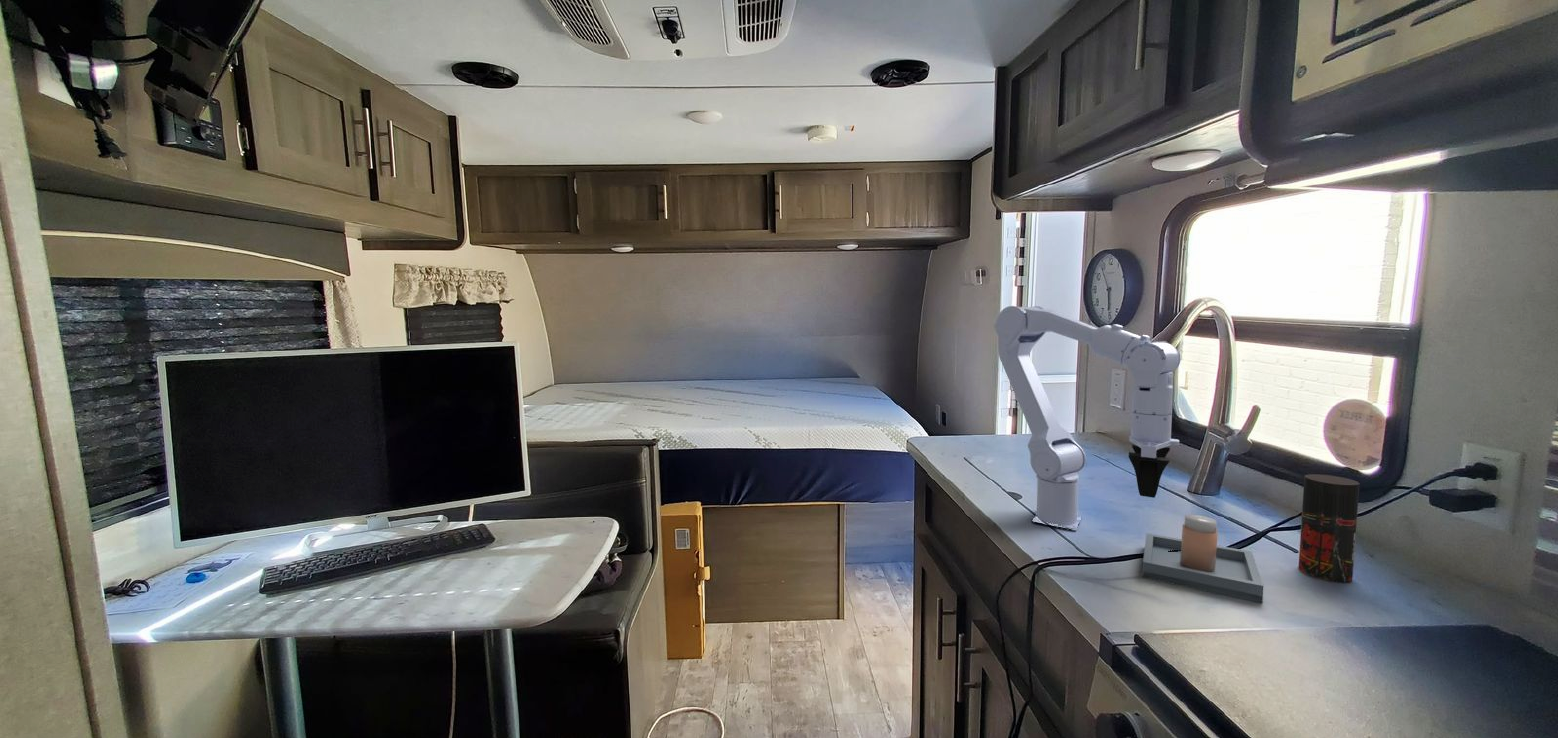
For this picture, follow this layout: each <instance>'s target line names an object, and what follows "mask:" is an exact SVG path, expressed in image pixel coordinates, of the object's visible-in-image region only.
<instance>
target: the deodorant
mask: <svg viewBox="0 0 1558 738" xmlns="http://www.w3.org/2000/svg"><path fill="white" fill-rule="evenodd" d="M1360 484H1361V483H1360V482H1358V481H1356V480H1353V479H1351V478H1346V477H1343V476H1341V477H1340V476H1335V475H1331V474H1330V475H1329V474H1316V473H1315V474H1314V473H1313V474H1312V473H1311V474H1310V473H1309V474H1305V475H1304V477H1303V491H1302V492H1303V494H1302V506H1301V507H1302V508H1301V524H1300V537H1299V538H1300V540H1299V551H1298V552H1299V553H1298V567H1297V568H1298V570H1299V572H1301V573H1303V574H1304V575H1307V576H1308V577H1312V578H1315V579H1318V580H1322V581H1325V582H1326V581H1327V582H1330V583H1337V584H1347V583H1352V582H1353V580H1354V579H1353V575H1354V564H1355V563H1354V562H1355V553H1356V552H1355V549H1356V535H1357V523H1358V509H1359V499H1360V498H1359V496H1360Z"/></svg>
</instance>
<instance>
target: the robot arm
mask: <svg viewBox="0 0 1558 738" xmlns="http://www.w3.org/2000/svg"><path fill="white" fill-rule="evenodd" d="M993 328H994V330H995V332H996V334H997V337H998V341H997V342H998V344H997V345H998V358H999V360H1000V362H1001V365H1002V367H1003V369H1004V372H1005V374H1006V376H1007V378H1008V381H1009V383H1010V386H1011V388H1012V391H1013V393H1014V395H1015V398H1016V400H1017V403H1018V404H1019V406H1020V409H1021V411H1022V414H1023V416H1024V419H1025V421H1026V423H1027V426H1028V429H1029V431H1030V432H1031V437H1030V439H1029V441H1028V443H1027V449H1028V450H1029V454H1030V459H1029V460H1030V465H1031V469H1032V470H1033V472H1034V473H1035V474H1036V478H1037V479H1036V480H1037V483H1036V485H1037V486H1036V489H1037V490H1036V512H1037V517H1038V518H1039V519H1040V520H1043V521H1045V522H1048V523H1051V524H1052V523H1053V524H1058V526H1061V525H1062V527H1065V528H1071V529H1077V530H1078V528H1079V526H1078V524H1079V523H1078V522H1077V520H1081V521H1082V519H1081V517H1077V514H1078V505H1079V503H1078V499H1079V477H1080V471H1082V469H1084V467H1085V466H1086V464H1087V463H1086V462H1087V456H1086V453H1085V450H1084V449H1083V448H1082V447H1081V446H1080V445H1079V444H1078V443H1077V442H1076V441H1075V439H1074V437H1073V435H1072V434H1071V432H1069V431H1068V430H1067V429H1065V428H1064V427H1062V426H1061V424H1060V422H1059V420H1058V418H1057V415H1056V413H1055V410H1054V409H1053V406H1052V404H1051V402H1050V400H1049V398H1048V395H1047V392H1046V391H1045V389H1044V386H1043V384H1042V382H1041V380H1040V377H1039V375H1038V373H1037V370H1036V368H1035V365H1034V363H1033V362H1032V359H1031V357H1030V354H1031V351H1032V350H1033V348H1034V347H1035V345H1036V344H1037V343H1038V342H1039V341H1040V340H1041V339H1042V338H1043V337H1044V336H1045V334H1046V333H1049V332H1051V333H1055V334H1058V335H1061V336H1063V337H1066V338H1069V339H1071V340H1072V339H1073V340H1076V341H1078V342H1081V343H1084V344H1086V345H1088V347H1089V350H1090V351H1091V353H1092V354H1093V355H1095V356H1098V357H1101V358H1102V359H1105V360H1108V361H1110V362H1113V363H1115V364H1118V365H1121V366H1123V367H1126V368H1128V370H1129V372H1130V373H1131V374H1132V390H1131V391H1132V393H1131V394H1132V395H1131V397H1132V398H1131V417H1130V435H1129V436H1128V441H1129V442H1130V443H1132V444H1131V448H1132V450H1133V452H1131V451H1129V452H1128V458H1129V461H1130V463H1131V465H1132V467H1133V469H1134V472H1135V478H1136V483H1137V489H1138V493H1139V496H1141V497H1146V498H1153V499H1154V498H1155V497H1156V495H1157V492H1158V491H1159V490H1158V488H1159V485H1160V481H1161V477H1162V475H1163V473H1164V470H1165V469H1166V467H1167V466H1168V464H1169V463H1170V462H1171V461H1170V458H1169V457H1167V455H1168V453H1169V452H1170V450H1171V446H1179V445H1180V440H1179V439H1176V438H1172V421H1173V419H1172V418H1173V401H1174V400H1173V399H1174V398H1173V397H1174V372H1175V371H1176V370H1177V369H1178V367H1180V365H1181V360H1182V359H1181V354H1180V352H1179V350H1178V349H1177V347H1175V346H1174V345H1173V344H1170V343H1169V342H1167V341H1166V340H1158V341H1157V340H1156V341H1153V342H1151V340H1150V339H1151V337H1150V336H1149V335H1146V334H1142V335H1138V334H1136V333H1135V334H1134V333H1133V332H1129V331H1126V330H1124V329H1123V328H1124V326H1123V325H1120V324H1118V323H1116V324H1115V323H1114V324H1112V325H1109V324H1104V325H1103V326H1100V327H1095V326H1093V325H1090V324H1088V323H1085V322H1083V321H1082V320H1081V321H1080V320H1078V319H1076V318H1073V317H1070V316H1069V315H1066V314H1064V313H1061V312H1059V311H1057V310H1053V309H1050V308H1044V307H1042V306H1037V305H1035V306H1015V305H1008V306H1006V307H1004V308H1003V309H1002V310H1001V311H1000V312H999V314H998V316H997V318H996V321H995V323H994V325H993ZM1079 525H1080V524H1079ZM1077 527H1078V528H1077Z"/></svg>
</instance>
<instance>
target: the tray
mask: <svg viewBox="0 0 1558 738" xmlns="http://www.w3.org/2000/svg"><path fill="white" fill-rule="evenodd" d="M1181 541H1182V538H1177V537H1170V536H1165V535H1158V534H1155V533H1147V532H1146V536H1145V543H1144V551H1143V557H1142V578H1144V579H1149V580H1153V581H1158V582H1162V583H1167V584H1171V585H1177V586H1181V587H1185V588H1190V589H1195V590H1199V591H1205V592H1208V593H1214V594H1219V595H1223V596H1227V597H1230V598H1231V597H1232V598H1237V599H1241V600H1246V601H1251V602H1255V603H1260V604H1263V600H1264V584H1263V581H1262V578H1261V575H1260V572H1259V568H1258V566H1257V563H1256V561H1255V558H1254V554H1253V551H1250V550H1244V549H1240V548H1239V549H1238V548H1234V547H1233V548H1232V547H1229V546H1228V547H1227V546H1221V545H1217V552H1216V565H1215V571H1212V572H1205V571H1199V570H1194V569H1191V568H1188V567H1186V566H1184V565H1182V564H1181V563H1180V556H1181V551H1178V552H1168V551H1170V550H1171V551H1172V550H1181Z"/></svg>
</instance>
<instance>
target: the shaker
mask: <svg viewBox="0 0 1558 738" xmlns="http://www.w3.org/2000/svg"><path fill="white" fill-rule="evenodd" d="M1183 521H1184V523H1183V524H1182V529H1181V530H1182V531H1181V539H1182V541H1181V556H1180V563H1181V564H1182V565H1184V566H1186V567H1188V568H1191V569H1194V570H1199V571H1205V572H1212V571H1215V565H1216V552H1217V546H1218V537H1219V536H1218V535H1219V530H1217V529H1218V528H1217V527H1218V521H1217V520H1216V519H1214V518H1211V517H1209V516H1204V515H1200V514H1198V515H1197V514H1185V515H1184V520H1183Z"/></svg>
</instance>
